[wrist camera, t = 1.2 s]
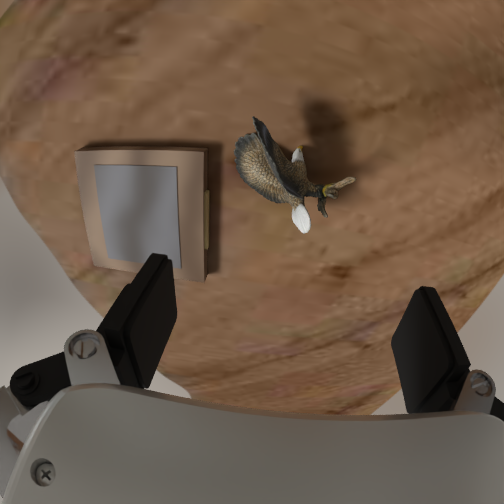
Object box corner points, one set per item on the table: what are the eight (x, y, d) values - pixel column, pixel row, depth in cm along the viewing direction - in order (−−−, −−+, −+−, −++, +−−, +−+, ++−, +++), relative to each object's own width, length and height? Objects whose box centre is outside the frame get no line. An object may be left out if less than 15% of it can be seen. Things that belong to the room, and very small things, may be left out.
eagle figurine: (356, 143, 24) (261, 93, 21) (357, 213, 21) (241, 160, 18) (309, 184, 30) (227, 148, 28) (302, 247, 28) (207, 211, 25)
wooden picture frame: (211, 148, 27) (206, 152, 25) (210, 274, 34) (206, 283, 33) (82, 147, 27) (73, 151, 26) (99, 259, 35) (93, 266, 33)
